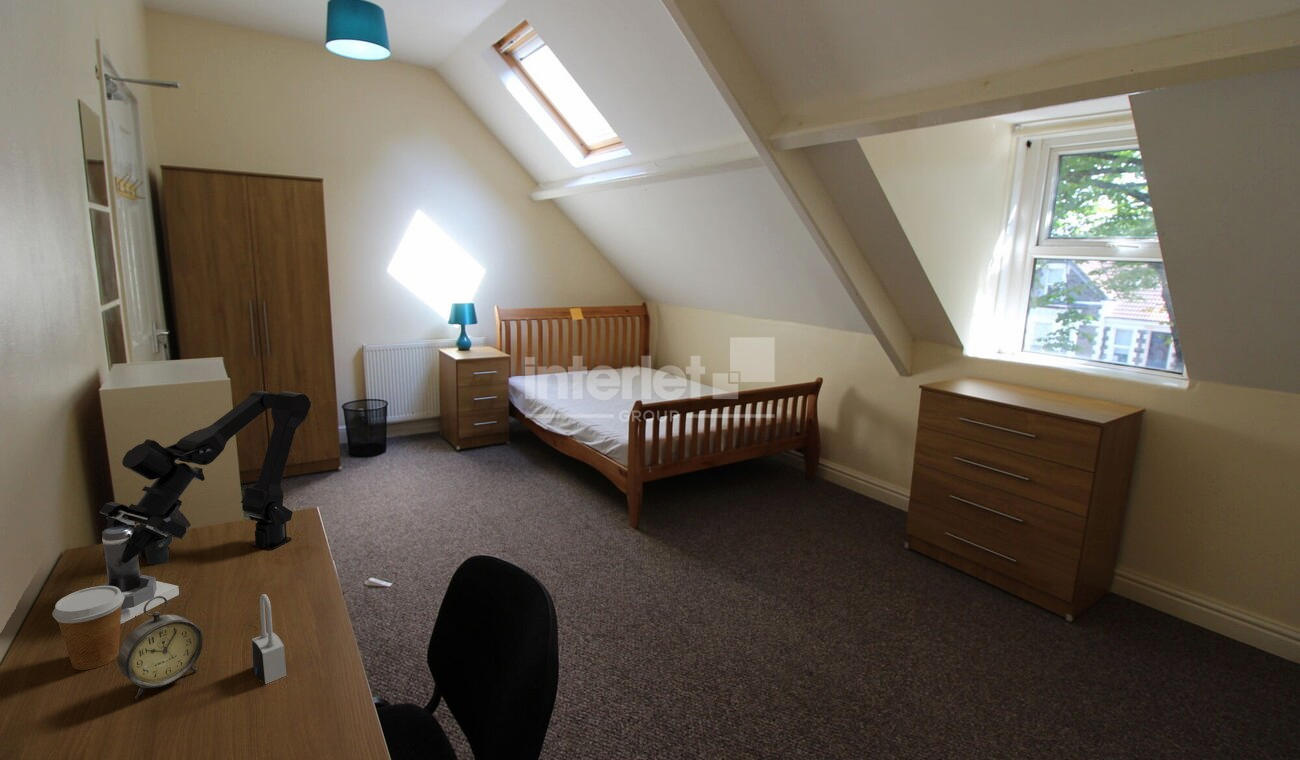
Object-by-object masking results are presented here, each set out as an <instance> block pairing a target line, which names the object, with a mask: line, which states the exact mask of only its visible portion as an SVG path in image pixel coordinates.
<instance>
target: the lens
mask: <svg viewBox="0 0 1300 760" xmlns="http://www.w3.org/2000/svg"><path fill="white" fill-rule="evenodd" d="M135 527H136V525H130V524H125V525H117V526H113V527H110V528H108V527H107V528H105V529H104V530H102V532H101V533H102V535H101V536H102V538H101V539H102V545H103V552H104V551H105V556H104V558H105V565H106V573H107V583H108V584H109V586H114V587H117V588H119V589H120V591H121V593H122V592H127V591H130V590H133V589H135V588H137V587H139V586H140V585H141V578H140V575H141V571H140V561H139V554H137V555H136V556H135V557H134V558H132V559H131V560H130V561H128V562H127V563H124V562H121V559H122V556H123V553H124V551H125V549H126V547H127V545H128V543H129V540H130V538H131V536H132V534H133V532H134V529H135Z"/></svg>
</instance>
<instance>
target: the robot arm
mask: <svg viewBox="0 0 1300 760" xmlns="http://www.w3.org/2000/svg"><path fill="white" fill-rule="evenodd" d="M311 405H312V401H311V400H310V398H309V396H307V395H306V394H303V393H298V392H292V391H287V390H285V391H280V392H278V393H272V392H269V391H264V390H255V391H252V392H250V394H249V395H248V397H246V399H243V400H242V401H241V402H240V403H238V404H237V405H236V406H234V407H233V408H232V409H231V410H230V411H228V412H226V413H225V414H224V415H223V416H221V417H220V418H219V419H217V420H216V421H215V422H213V423H212V424H211V425H209V426H207V427H204V428H201V429H198V430H194V431H193V432H190V433H189V434H187V435H185V436H184V437H181V438H180V439H179V440H178V441H177V442H176V443H174V444H172V445H171V444H170V445H169V446H165V447H164V446H162V445H161V444H160V443H159V442H158V441H156V440H154V439H149V438H147V439H145V441H143V443H139V444H138V445H136V446H134V447H132V449H128V450H127V452H126V453H125V455H124V456H123V458H122V466H123V467H124V468H126V469H128V470H130V471H131V472H134V473H135V474H136V475H139V476H141V477H142V478H144V479H146V480H149V481H153V480H154V482H153V483H152V484H151V485H150V486H146V485H145V486H143V488H142V489H141V491H142V492H143V493H144V494H143V496H142V497H141V498H140V499H139V501H138V502H137V503H136V504H134V503H130V504H129V506H127V505H125V504H123V503H118V502H115V501H110V502H107V503H105V504H104V505H103V506H102V507H101V508H100V509H99V511H98V513H100V514H102V515H104V516H107V517H106V520H107V528H110V527H113V526H117V525H125V524H130V525H134V526H135V529H134V532H133V534H132V536H131V538H130V540H129V543H128V545H127V547H126V549H125V551H124V553H123V556H122V559H121V562H124V563H127V562H128V561H130V560H131V559H132V558H134V557H135V556H136V555H137V554H138V555H139V553H140V552H141V551H143V550H144V549H145V548H146V547H148V546H149V545H151V544H152V543H154V542H156V541H160V540H164V539H166V540H167V539H169V537H167V535H168V534H171V536H172V538H176V539H177V540H182V539H183V538H184V537H185V535H186V534H187V533H188V529H189V528H190V527H191V526H192V524H191V523H190V521H189V520H188V519H187V518H186V516H185V514H184V513H183V512H182V511H181V510H180V508H181V506H182V505H183V504H182V503H183V501H182V500H180V498H181V496H182V495H183V494H184V492H185V491H186V490H187V488H188V487H189V486H190V484H191V483H192V482H193V480H197V481H202V482H203V481H205V474H204V472H203V471H204V470H203V468H202V467H196V466H195V467H193V466H191V465H189V463H190V464H195V465H199V466H207V465H210V464H211V463H213V462H214V461H215V460H216V459H217V458H218V457H219V456H220V455H221V454H222V452H223V451H225V448H226V445H227V443H228V441H230V439H232V438H233V437H234V436H235V435H236V434H238V433H239V432H241V431H242V430H243V429H244V428H245V427H247V426H248V425H249V424H251V423H252V422H253V421H254V420H256V418H259V416H261V415H262V414H263V413H264V412H265V411H267V410H268V409H271V410H270V411H271V412H270V413H271V417H272V422H273V429H272V432H271V435H270V439H269V442H268V445H267V448H266V453H265V457H264V459H263V462H262V467H261V470H260V474H259V477H258V481H257V482H255V483H254V485H252V487H250V486H247V487H246V488H245V489H244V495H243V498H242V500H241V501H240V504H242V507H241V508H242V511H243V512H244V514H245V515H246V516H248V518H249V520H250V521H254V522H256V523H255V530H254V539H255V541H254V542H252V543H251V546H252V547H257V548H261V549H267V550H274V549H276V548H278V547H280V546H282V545H284V544H285V543H288V542H290V541H292V540H293V537H291V536H290V537H289V536H288V535H287V534H288V533H287V522H289V521H291V520H292V516H293V510H291V509H289V508H287V507H286V506H284V505H283V504H284V497H285V496H284V493H283V488H282V480H283V477H284V472H285V469H286V466H287V462H288V459H289V456H290V451H291V448H292V444H293V441H294V437H295V435H296V431H297V428H298V427H299V426H300V425H302V423H304V422H305V420H306V418H307V416H308V414H309V412H310V410H311ZM176 461H179V462H176ZM140 524H144V525H147V526H146V527H144V526H140ZM291 539H292V540H291ZM289 540H290V541H289ZM287 541H288V542H287ZM102 552H103V553H102V556H103V557H105V551H104V550H103V551H102Z"/></svg>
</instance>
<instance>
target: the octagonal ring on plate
mask: <svg viewBox="0 0 1300 760" xmlns="http://www.w3.org/2000/svg"><path fill="white" fill-rule="evenodd" d="M140 578H141V585H140V586H139V587H137V588H135V589H133V590H130V591H127V592H122V593H123V594H124V597H125V598H124V601H123V603H122V607H121V624H120V625H122V624H124V623H126V622H127V621H129V620H132V619H133V618H136V617H137V616H140V615H141V614H143V613H144V606H145V604H146V603H147V602H148V601H149V600H150V599H152V598H153V597H156V596H163V597H165V598H166V599H167V601H169V600H171V599H173V598H175V597H178V596H179V595H180V590H179V587H180V586H179V585H176V584H175V585H174V584H170V583H166V582H162V581H158V580H157V579H156V577H155V576H151V575H145V574H140ZM100 586H109V584H108V582H106V583H104V584H101V585H100ZM163 603H164V604H165V600H164V599H162V598H156V599H154V600H152V601H150V602H149V603H148V605H147V607H146V612H147V611H149V610H152V609H153V608H155V607H157V606H159V605H161V604H163ZM144 614H145V613H144ZM135 616H136V617H135Z"/></svg>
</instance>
